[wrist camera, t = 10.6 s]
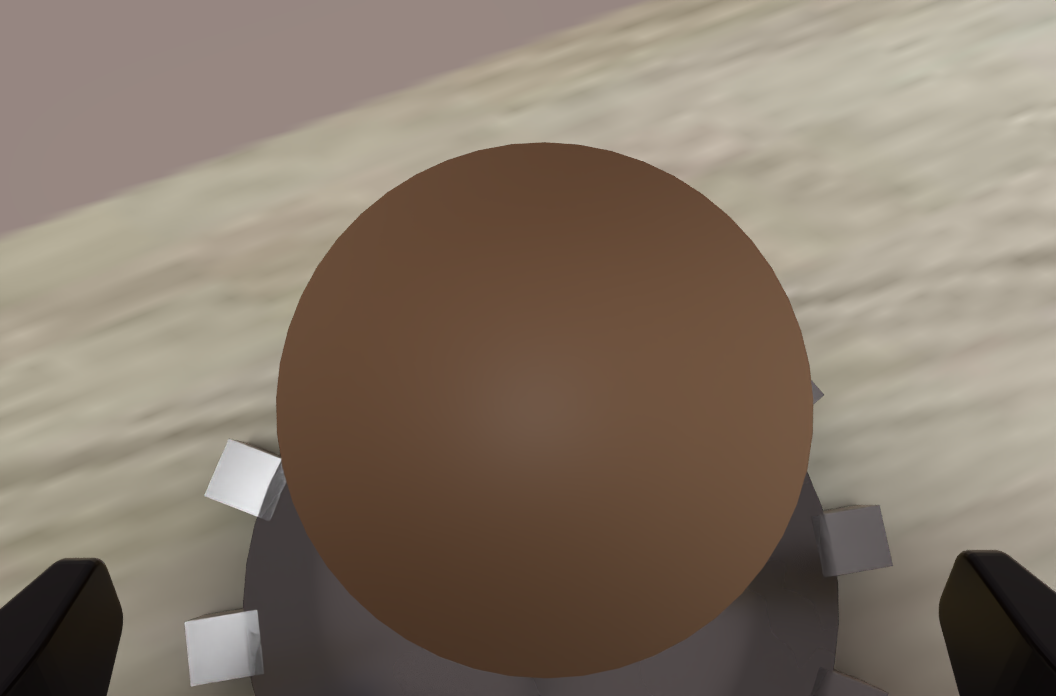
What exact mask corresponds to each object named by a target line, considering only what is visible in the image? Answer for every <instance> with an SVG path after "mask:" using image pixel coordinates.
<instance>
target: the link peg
mask: <svg viewBox="0 0 1056 696" xmlns="http://www.w3.org/2000/svg"><path fill="white" fill-rule="evenodd" d="M276 408H277V436H278V442H279V448H280V455H281V461H282V468H283V471H284V475H285V478H286V481H287V485H288V488H289V491H290V495H291V498H292V502H293V504H294V506H295V509H296V511H297V513H298V515H299V517H300V520H301V522H302V524H303V526H304V529H305V531H306V533H307V535H308V537H309V538H310V540H311V542H312V543H313V545H314V547H315V548H316V550H317V551H318V553H319V555H320V556H321V558H322V559H323V561H324V563H325V564H326V566H327V567H328V568H329V569H330V571H331V572H332V573H333V574H334V576H335V577H336V578H337V579H338V580H339V582H340V583H341V584H342V585H343V586H344V588H345V589H346V590H347V591H348V592H349V594H350V595H351V596H352V597H354V598H355V599H356V600H357V601H358V602H359V603H360V604H361V605H362V606H363V607H364V608H365V609H367V610H368V611H369V612H370V613H371V614H372V615H373V616H374V617H375V618H376V619H378V620H379V621H381V622H382V623H383V624H385V625H386V626H388V627H389V628H391V629H392V630H393V631H395V632H396V633H398V634H399V635H401V636H402V637H403V638H405V639H406V640H408V641H410V642H412V643H414V644H416V645H418V646H420V647H422V648H424V649H426V650H428V651H430V652H431V653H433V654H435V655H437V656H439V657H442V658H445V659H448V660H451V661H453V662H456V663H459V664H462V665H465V666H468V667H471V668H473V669H478V670H483V671H488V672H493V673H497V674H502V675H507V676H517V677H532V678H561V677H575V676H585V675H590V674H595V673H599V672H604V671H609V670H614V669H618V668H621V667H624V666H627V665H630V664H633V663H635V662H638V661H641V660H644V659H647V658H649V657H652V656H655V655H656V654H658V653H660V652H662V651H664V650H666V649H668V648H670V647H672V646H674V645H676V644H678V643H679V642H681V641H683V640H685V639H687V638H688V637H690V636H691V635H692V634H694V633H695V632H697V631H698V630H700V629H701V628H702V627H704V626H705V625H707V624H708V623H709V622H711V621H712V620H714V619H715V618H716V617H717V616H718V615H719V614H721V613H722V612H723V611H724V610H725V609H726V608H727V607H728V606H729V605H730V604H731V603H732V602H733V601H734V600H735V599H737V598H738V597H739V596H740V595H741V594H742V593H743V591H744V590H745V589H746V588H747V587H748V585H749V584H750V583H751V582H752V580H753V579H754V578H755V577H756V576H757V574H758V573H759V572H760V571H761V569H762V568H763V567H764V566H765V564H766V562H767V561H768V559H769V558H770V556H771V554H772V553H773V551H774V549H775V548H776V546H777V544H778V543H779V541H780V540H781V538H782V536H783V534H784V532H785V530H786V528H787V525H788V523H789V521H790V519H791V516H792V514H793V512H794V509H795V507H796V505H797V503H798V499H799V496H800V492H801V489H802V485H803V482H804V478H805V475H806V471H807V467H808V461H809V454H810V447H811V441H812V434H813V393H812V384H811V375H810V367H809V361H808V357H807V353H806V349H805V345H804V341H803V337H802V333H801V330H800V327H799V324H798V322H797V319H796V317H795V314H794V312H793V309H792V306H791V304H790V301H789V299H788V297H787V295H786V293H785V291H784V290H783V288H782V286H781V284H780V282H779V280H778V279H777V277H776V275H775V273H774V271H773V269H772V268H771V266H770V265H769V264H768V262H767V261H766V259H765V258H764V257H763V255H762V254H761V253H760V251H759V250H758V248H757V247H756V246H755V244H754V243H753V241H752V240H751V239H750V238H749V237H748V236H747V235H746V234H745V233H744V232H743V231H742V230H741V228H740V227H739V226H738V225H737V224H736V223H735V222H734V221H733V220H732V219H731V218H730V217H729V216H728V215H727V214H726V213H725V212H723V211H722V210H721V209H720V208H719V207H717V206H716V205H715V204H714V203H713V202H711V201H710V200H709V199H708V198H707V197H705V196H704V195H703V194H701V193H700V192H698V191H697V190H695V189H694V188H692V187H690V186H689V185H687V184H686V183H684V182H683V181H681V180H679V179H678V178H676V177H675V176H673V175H671V174H669V173H666V172H664V171H662V170H660V169H658V168H656V167H654V166H652V165H650V164H647V163H645V162H643V161H640V160H637V159H634V158H631V157H628V156H625V155H622V154H619V153H616V152H613V151H608V150H603V149H598V148H593V147H588V146H583V145H575V144H561V143H546V142H544V143H526V144H511V145H505V146H500V147H494V148H489V149H483V150H478V151H475V152H472V153H469V154H466V155H462V156H459V157H456V158H453V159H450V160H447V161H444V162H442V163H440V164H438V165H436V166H434V167H431V168H429V169H427V170H425V171H423V172H421V173H418V174H416V175H415V176H413V177H411V178H410V179H408V180H407V181H405V182H403V183H402V184H400V185H399V186H397V187H395V188H394V189H392V190H391V191H389V192H387V193H386V194H385V195H384V196H382V197H381V198H380V199H379V200H378V201H376V202H375V203H374V204H373V205H371V206H370V207H369V208H368V209H367V210H365V211H364V212H363V213H362V214H361V215H360V216H359V217H358V218H357V219H356V220H355V221H354V222H353V223H352V224H351V225H350V226H349V227H348V228H347V229H346V230H345V231H344V233H343V234H342V235H341V236H340V237H339V238H338V239H337V240H336V242H335V243H334V244H333V246H332V247H331V249H330V250H329V251H328V253H327V254H326V255H325V257H324V258H323V260H322V261H321V262H320V264H319V265H318V266H317V268H316V270H315V272H314V274H313V276H312V277H311V279H310V281H309V283H308V285H307V286H306V288H305V290H304V292H303V294H302V296H301V298H300V300H299V303H298V305H297V308H296V311H295V313H294V316H293V318H292V321H291V324H290V326H289V329H288V333H287V337H286V341H285V345H284V349H283V353H282V357H281V361H280V368H279V377H278V386H277V396H276Z"/></svg>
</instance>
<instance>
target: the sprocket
mask: <svg viewBox="0 0 1056 696" xmlns="http://www.w3.org/2000/svg"><path fill="white" fill-rule="evenodd" d="M811 384H812V393H813V404H814V403H815V402H817V401H818V400H819V399H820V398H821V397H822V396H824V394H823V393H822V392H821V391H820V390H819V388H818V387H817V386H816V385H815V384H814V383H813V381H812V380H811ZM204 496H206V497H208V498H211V499H213V500H216V501H219V502H221V503H224V504H226V505H229V506H231V507H234V508H237V509H239V510H242V511H244V512H247V513H249V514H252V515H255V516H257V519H256V522H255V526H254V530H253V535H252V540H251V545H250V549H249V554H248V559H247V563H246V575H245V588H244V600H243V608H241V609H235V610H229V611H223V612H217V613H211V614H206V615H202V616H199V617H197V618H194V619H191V620H189V621H186V622H184V623H185V633H186V643H187V653H188V663H189V673H190V683H191V686H195V685H201V684H207V683H213V682H219V681H225V680H230V679H236V678H242V677H248V676H251V681H252V686H253V689H254V692H255V695H256V696H888V693H887V692H885V691H883V690H881V689H879V688H877V687H875V686H873V685H871V684H869V683H867V682H865V681H862V680H860V679H857V678H854V677H852V676H849V675H847V674H844V673H841V672H839V671H836V670H834V669H833V667H834V663H835V653H836V644H837V635H838V625H839V613H838V581H837V575H842V574H848V573H854V572H860V571H866V570H872V569H877V568H883V567H889V566H893V564H892V560H891V555H890V550H889V546H888V541H887V537H886V532H885V528H884V523H883V519H882V514H881V510H880V505H853V506H847V507H842V508H836V509H830V510H824V511H823V510H822V506H821V504H820V501H819V499H818V497H817V494H816V492H815V489H814V487H813V485H812V482H811V480H810V477H809V475H808V473H807V471H806V475H805V478H804V482H803V485H802V489H801V492H800V496H799V499H798V503H797V505H796V507H795V509H794V512H793V514H792V516H791V519H790V521H789V523H788V525H787V528H786V530H785V532H784V534H783V536H782V538H781V540H780V541H779V543H778V544H777V546H776V548H775V549H774V551H773V553H772V554H771V556H770V558H769V559H768V561H767V562H766V564H765V566H764V567H763V568H762V569H761V571H760V572H759V573H758V574H757V576H756V577H755V578H754V579H753V580H752V582H751V583H750V584H749V585H748V587H747V588H746V589H745V590H744V591H743V593H742V594H741V595H740V596H739V597H738V598H737V599H735V600H734V601H733V602H732V603H731V604H730V605H729V606H728V607H727V608H726V609H725V610H724V611H723V612H722V613H721V614H719V615H718V616H717V617H716V618H715V619H714V620H712V621H711V622H709V623H708V624H707V625H705V626H704V627H702V628H701V629H700V630H698V631H697V632H695V633H694V634H692V635H691V636H690V637H688V638H687V639H685V640H683V641H681V642H679V643H678V644H676V645H674V646H672V647H670V648H668V649H666V650H664V651H662V652H660V653H658V654H656V655H655V656H652V657H649V658H647V659H644V660H641V661H638V662H635V663H633V664H630V665H627V666H624V667H621V668H618V669H614V670H609V671H604V672H599V673H595V674H590V675H585V676H575V677H561V678H532V677H517V676H507V675H502V674H497V673H493V672H488V671H483V670H478V669H473V668H471V667H468V666H465V665H462V664H459V663H456V662H453V661H451V660H448V659H445V658H442V657H439V656H437V655H435V654H433V653H431V652H430V651H428V650H426V649H424V648H422V647H420V646H418V645H416V644H414V643H412V642H410V641H408V640H406V639H405V638H403V637H402V636H401V635H399V634H398V633H396V632H395V631H393V630H392V629H391V628H389V627H388V626H386V625H385V624H383V623H382V622H381V621H379V620H378V619H376V618H375V617H374V616H373V615H372V614H371V613H370V612H369V611H368V610H367V609H365V608H364V607H363V606H362V605H361V604H360V603H359V602H358V601H357V600H356V599H355V598H354V597H352V596H351V595H350V594H349V592H348V591H347V590H346V589H345V588H344V586H343V585H342V584H341V583H340V582H339V580H338V579H337V578H336V577H335V576H334V574H333V573H332V572H331V571H330V569H329V568H328V567H327V566H326V564H325V563H324V561H323V559H322V558H321V556H320V555H319V553H318V551H317V550H316V548H315V547H314V545H313V543H312V542H311V540H310V538H309V537H308V535H307V533H306V531H305V529H304V526H303V524H302V522H301V520H300V517H299V515H298V513H297V511H296V509H295V506H294V504H293V502H292V498H291V495H290V491H289V488H288V485H287V481H286V478H285V475H284V471H283V468H282V461H281V456H279V455H277V454H274V453H271V452H269V451H266V450H264V449H261V448H258V447H256V446H253V445H251V444H248V443H245V442H241V441H237V440H232V439H228V442H227V444H226V446H225V449H224V451H223V453H222V455H221V458H220V460H219V462H218V465H217V467H216V469H215V472H214V474H213V476H212V479H211V481H210V483H209V486H208V488H207V490H206V492H205V495H204Z"/></svg>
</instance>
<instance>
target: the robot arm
mask: <svg viewBox="0 0 1056 696" xmlns="http://www.w3.org/2000/svg"><path fill="white" fill-rule="evenodd" d="M939 620H940V625H941V628H942V632H943V636H944V639H945V643H946V647H947V651H948V654H949V658H950V662H951V665H952V669H953V673H954V676H955V680H956V684H957V687H958V691H959V695H960V696H1056V592H1055V591H1053V590H1052V589H1051V588H1050V587H1048V586H1047V585H1046V584H1044V583H1043V582H1042V581H1041V580H1039V579H1038V578H1037V577H1036V576H1034V575H1033V574H1032V573H1031V572H1029V571H1028V570H1027V569H1026V568H1024V567H1023V566H1022V565H1020V564H1019V563H1018V562H1017V561H1015V560H1014V559H1013V558H1012V557H1010V556H1009V555H1007V554H1006V553H1004V552H1002V551H998V550H966V551H963V552H962V553H960V554H959V555H958V556H957V558H956V560H955V563H954V565H953V568H952V570H951V573H950V576H949V578H948V581H947V583H946V586H945V588H944V591H943V593H942V596H941V599H940V603H939ZM122 626H123V613H122V608H121V605H120V602H119V599H118V597H117V594H116V591H115V588H114V586H113V583H112V580H111V577H110V575H109V572H108V569H107V567H106V565H105V563H104V562H103V561H102V560H100V559H98V558H64V559H61V560H59V561H57V562H55V563H54V564H52V565H51V566H50V567H49V568H48V569H46V570H45V571H44V572H43V573H42V574H41V575H39V576H38V577H37V578H36V579H35V580H33V581H32V582H31V583H30V584H29V585H28V586H26V587H25V588H24V589H23V590H22V591H21V592H19V593H18V594H17V595H16V596H15V597H14V598H12V599H11V600H10V601H9V602H8V603H7V604H5V605H4V606H3V607H2V608H1V609H0V696H107V692H108V688H109V684H110V679H111V675H112V671H113V667H114V663H115V658H116V654H117V650H118V646H119V641H120V637H121V633H122Z"/></svg>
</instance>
